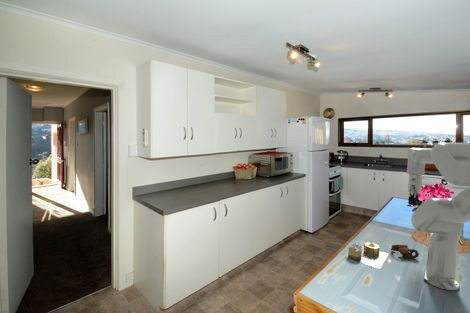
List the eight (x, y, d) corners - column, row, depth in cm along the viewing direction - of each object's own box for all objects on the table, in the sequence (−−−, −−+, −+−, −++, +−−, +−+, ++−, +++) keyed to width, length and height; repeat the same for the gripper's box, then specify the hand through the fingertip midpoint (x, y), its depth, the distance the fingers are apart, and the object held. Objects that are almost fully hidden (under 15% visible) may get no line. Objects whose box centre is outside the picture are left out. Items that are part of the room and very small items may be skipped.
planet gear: (377, 257, 122) (377, 249, 122) (362, 252, 127) (362, 245, 127) (380, 252, 127) (380, 245, 127) (366, 248, 132) (366, 241, 132)
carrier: (379, 272, 112) (380, 258, 111) (344, 259, 123) (344, 247, 122) (388, 256, 126) (389, 244, 126) (356, 246, 137) (356, 235, 137)
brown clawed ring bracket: (392, 261, 122) (388, 244, 126) (393, 262, 129) (390, 246, 133) (421, 262, 116) (416, 244, 120) (421, 263, 123) (416, 246, 126)
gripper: (422, 174, 117) (420, 207, 119) (426, 170, 130) (423, 200, 131) (404, 172, 122) (402, 204, 124) (409, 168, 135) (407, 198, 137)
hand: (413, 202), depth 128 cm, fingers open, 9 cm apart
